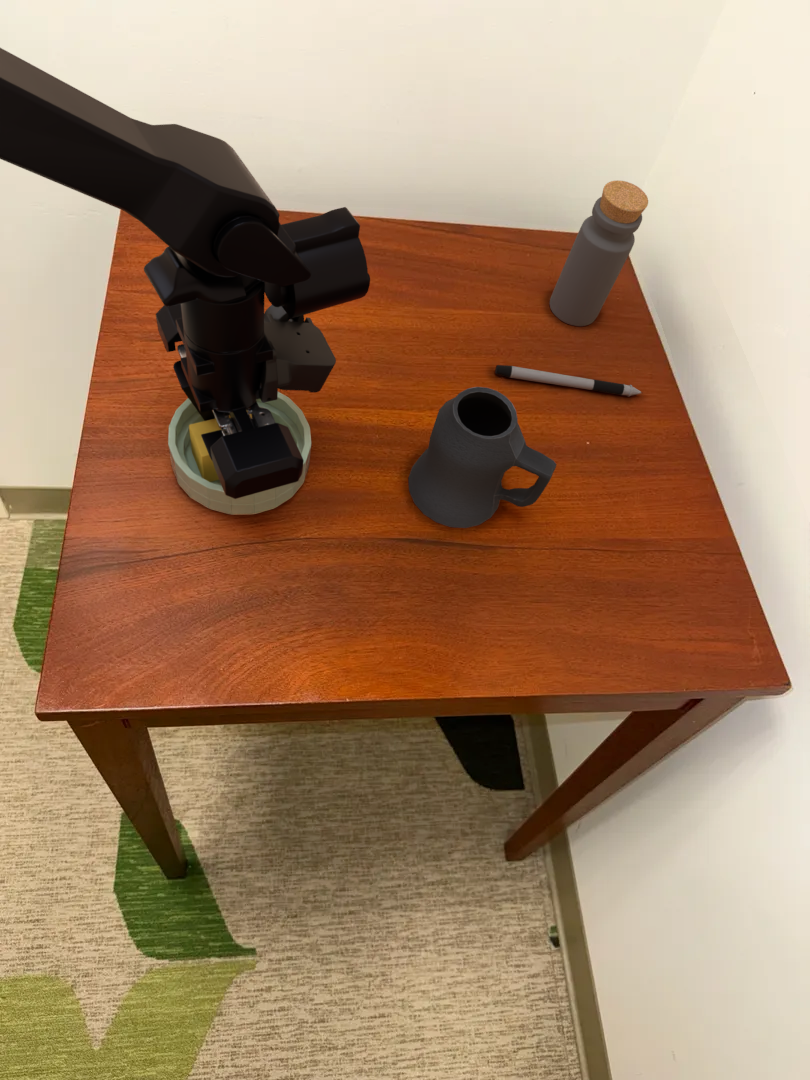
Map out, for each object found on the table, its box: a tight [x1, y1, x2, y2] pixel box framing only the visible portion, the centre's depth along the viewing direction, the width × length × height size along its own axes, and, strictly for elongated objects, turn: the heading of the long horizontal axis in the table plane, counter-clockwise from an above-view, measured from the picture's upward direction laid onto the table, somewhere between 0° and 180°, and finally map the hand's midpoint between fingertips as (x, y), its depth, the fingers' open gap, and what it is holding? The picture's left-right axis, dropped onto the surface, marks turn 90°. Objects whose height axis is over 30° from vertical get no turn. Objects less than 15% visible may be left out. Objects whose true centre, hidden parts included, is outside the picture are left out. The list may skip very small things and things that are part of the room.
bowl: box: [167, 391, 312, 516], centre depth 69 cm, size 12×12×4 cm
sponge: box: [189, 414, 252, 482], centre depth 68 cm, size 6×4×4 cm, turn 115°
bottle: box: [549, 180, 649, 327], centre depth 83 cm, size 6×6×15 cm
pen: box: [494, 364, 642, 398], centre depth 82 cm, size 1×16×1 cm, turn 87°
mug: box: [407, 386, 557, 529], centre depth 68 cm, size 12×9×11 cm
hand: (229, 452), depth 68 cm, fingers closed on sponge, 3 cm apart
